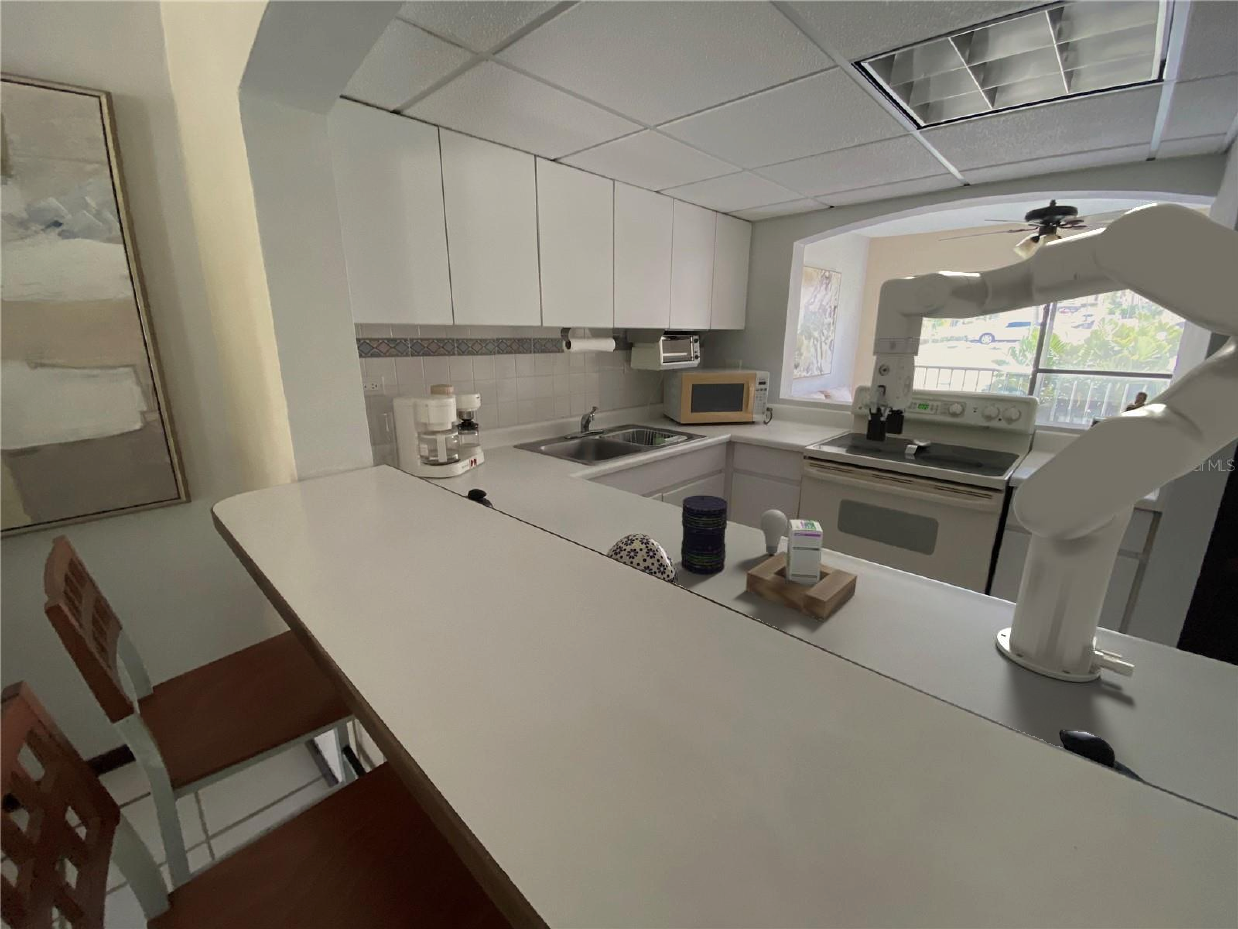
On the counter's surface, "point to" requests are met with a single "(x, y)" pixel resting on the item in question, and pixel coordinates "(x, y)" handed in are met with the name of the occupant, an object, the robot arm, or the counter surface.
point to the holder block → (801, 587)
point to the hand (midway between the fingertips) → (884, 437)
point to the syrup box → (804, 552)
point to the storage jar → (704, 534)
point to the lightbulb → (773, 529)
